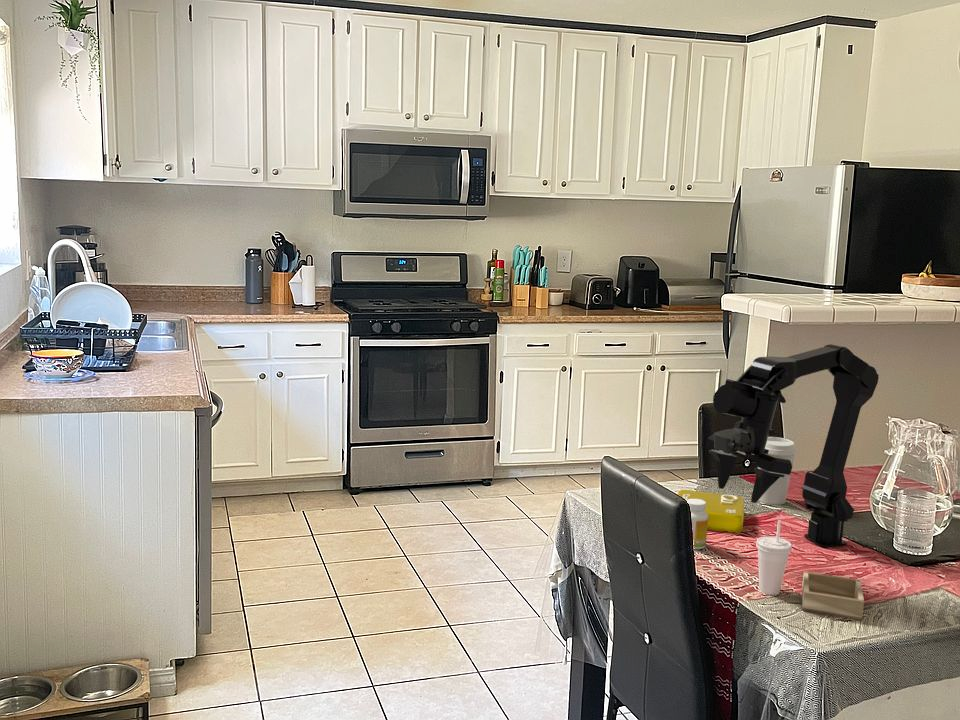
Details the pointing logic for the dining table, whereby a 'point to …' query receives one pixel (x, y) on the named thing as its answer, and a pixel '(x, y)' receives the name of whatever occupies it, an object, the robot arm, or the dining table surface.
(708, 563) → the dining table surface
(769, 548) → the smoothie
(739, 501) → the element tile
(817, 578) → the cup holder
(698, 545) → the supplement bottle
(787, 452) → the coffee cup
